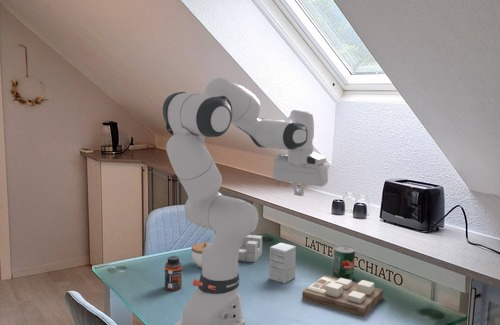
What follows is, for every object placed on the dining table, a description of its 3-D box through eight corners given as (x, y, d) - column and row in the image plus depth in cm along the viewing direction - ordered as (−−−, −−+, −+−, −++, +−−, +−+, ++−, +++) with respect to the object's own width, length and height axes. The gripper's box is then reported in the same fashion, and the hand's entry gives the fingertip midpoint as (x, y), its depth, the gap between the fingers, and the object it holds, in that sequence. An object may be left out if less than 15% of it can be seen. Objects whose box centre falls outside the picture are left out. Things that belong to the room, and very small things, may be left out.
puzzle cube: (235, 250, 217) (235, 233, 215) (262, 253, 214) (262, 235, 212) (227, 259, 205) (227, 241, 204) (255, 262, 202) (255, 244, 201)
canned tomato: (349, 281, 184) (350, 253, 182) (329, 277, 188) (330, 249, 186) (356, 275, 190) (358, 248, 189) (337, 270, 194) (338, 244, 193)
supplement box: (279, 273, 191) (280, 242, 189) (295, 278, 186) (296, 246, 184) (268, 278, 185) (269, 246, 183) (284, 283, 181) (285, 251, 179)
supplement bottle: (173, 292, 171) (172, 261, 169) (161, 288, 175) (161, 257, 173) (185, 287, 176) (185, 257, 174) (173, 283, 179) (173, 253, 178)
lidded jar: (206, 258, 205) (206, 237, 204) (223, 265, 198) (223, 243, 196) (186, 265, 198) (186, 242, 196) (203, 272, 190) (203, 249, 189)
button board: (363, 317, 156) (364, 307, 155) (302, 299, 168) (302, 290, 167) (382, 297, 170) (383, 288, 170) (324, 282, 182) (325, 274, 182)
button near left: (337, 298, 163) (338, 289, 163) (325, 294, 166) (325, 285, 165) (342, 293, 167) (343, 284, 166) (331, 290, 169) (331, 281, 169)
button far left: (346, 293, 170) (347, 284, 169) (335, 290, 172) (335, 281, 172) (351, 289, 174) (352, 280, 173) (340, 286, 176) (340, 277, 175)
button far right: (369, 296, 165) (369, 287, 165) (356, 292, 168) (357, 283, 167) (373, 291, 169) (374, 282, 168) (361, 288, 171) (362, 279, 171)
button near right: (360, 307, 159) (360, 298, 158) (347, 304, 161) (348, 295, 161) (365, 303, 163) (365, 293, 162) (352, 299, 165) (353, 290, 164)
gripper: (270, 154, 174) (269, 192, 176) (322, 160, 163) (320, 201, 165) (279, 153, 179) (278, 190, 181) (330, 158, 168) (328, 197, 170)
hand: (298, 195), depth 173 cm, fingers closed
